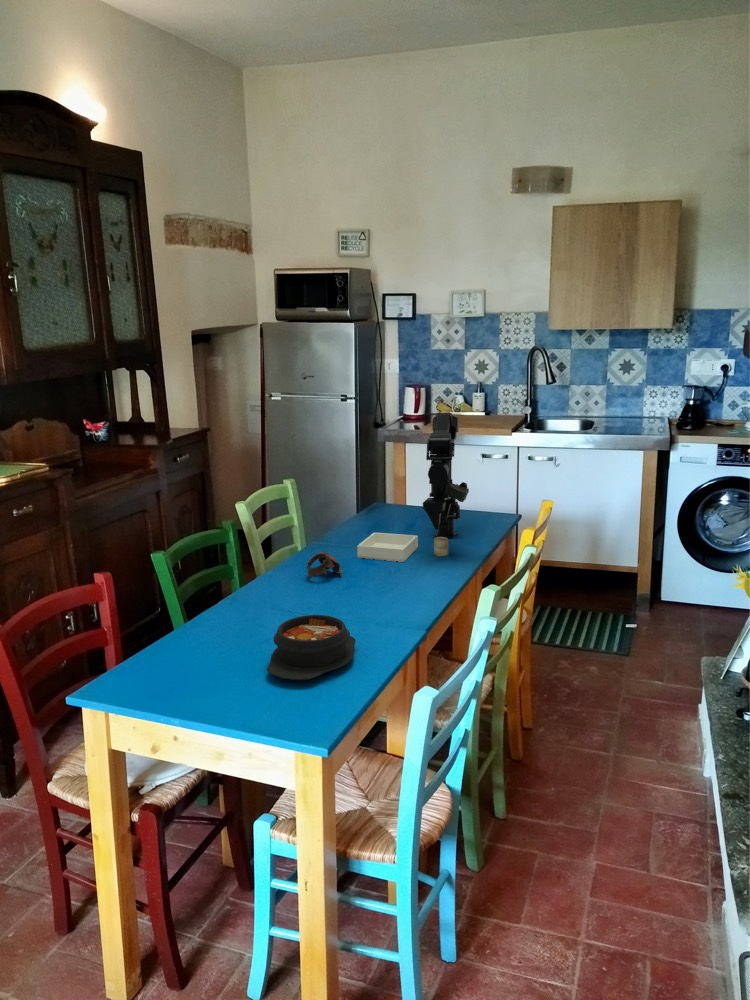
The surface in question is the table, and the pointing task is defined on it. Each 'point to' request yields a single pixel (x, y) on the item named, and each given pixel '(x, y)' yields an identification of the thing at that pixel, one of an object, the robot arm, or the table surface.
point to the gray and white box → (387, 547)
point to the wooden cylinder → (441, 546)
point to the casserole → (310, 647)
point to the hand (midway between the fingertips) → (440, 525)
